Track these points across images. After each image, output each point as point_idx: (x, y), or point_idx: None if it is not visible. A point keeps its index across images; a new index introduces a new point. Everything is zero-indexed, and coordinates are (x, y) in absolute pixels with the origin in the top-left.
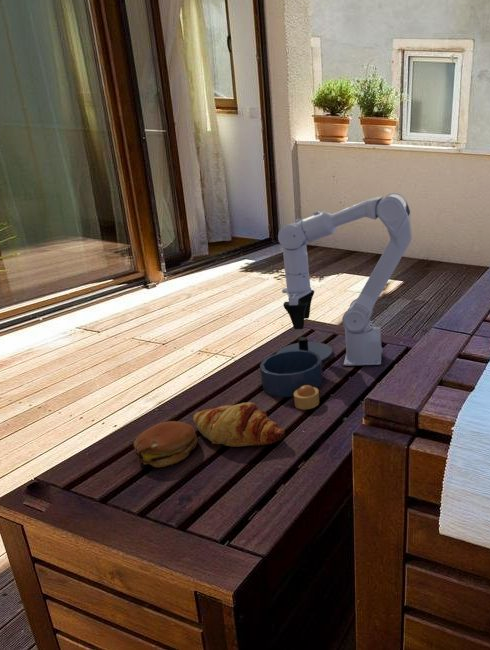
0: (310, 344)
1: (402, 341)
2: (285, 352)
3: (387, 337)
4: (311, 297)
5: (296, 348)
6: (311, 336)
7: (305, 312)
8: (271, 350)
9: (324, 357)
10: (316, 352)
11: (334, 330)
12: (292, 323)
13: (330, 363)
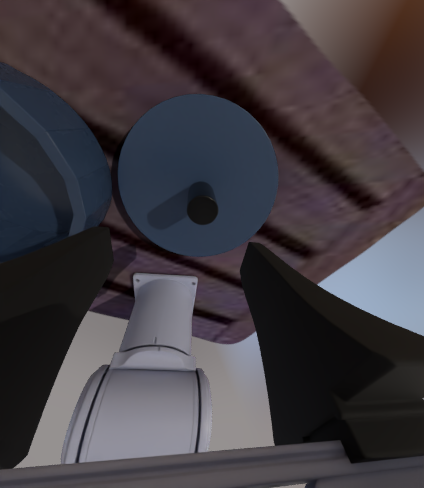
0: (253, 208)
1: (230, 339)
2: (50, 156)
3: (254, 325)
4: (270, 399)
5: (236, 170)
6: (329, 203)
7: (250, 283)
8: (276, 70)
9: (161, 243)
10: (194, 225)
11: (336, 252)
12: (71, 236)
13: (151, 248)
